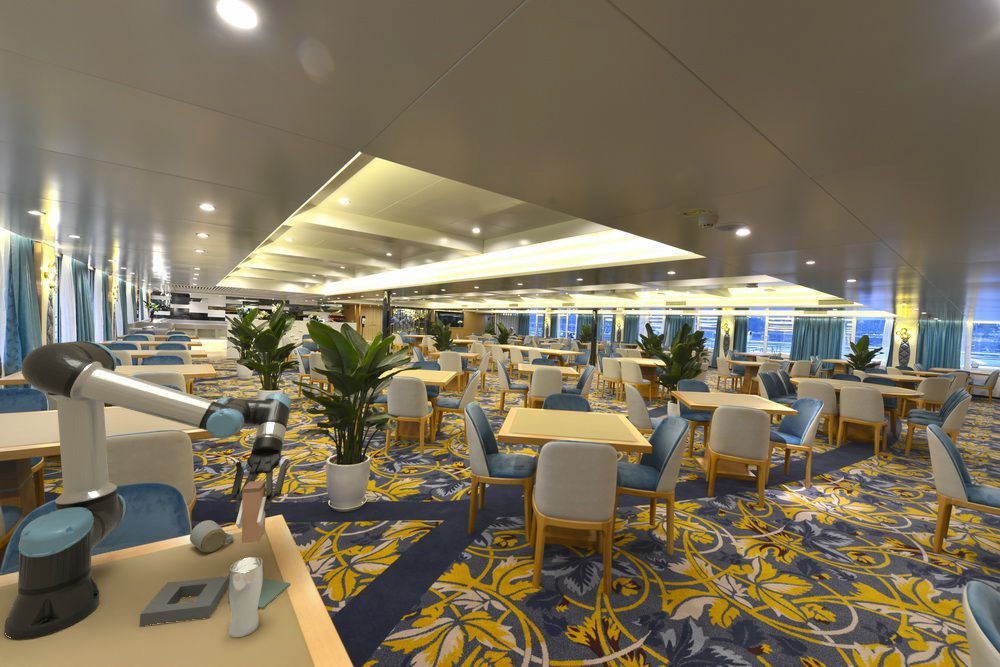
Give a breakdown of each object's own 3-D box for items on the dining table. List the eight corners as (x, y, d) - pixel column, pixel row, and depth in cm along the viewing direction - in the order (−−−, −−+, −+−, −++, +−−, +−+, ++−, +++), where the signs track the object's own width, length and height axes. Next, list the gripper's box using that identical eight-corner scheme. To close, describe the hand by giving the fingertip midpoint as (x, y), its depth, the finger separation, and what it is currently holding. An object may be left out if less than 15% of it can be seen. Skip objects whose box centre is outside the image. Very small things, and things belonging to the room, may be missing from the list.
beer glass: (235, 644, 90) (237, 577, 90) (220, 630, 94) (222, 566, 94) (267, 625, 96) (269, 562, 96) (251, 613, 100) (254, 553, 100)
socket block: (139, 626, 94) (140, 613, 94) (167, 593, 106) (167, 582, 106) (209, 618, 98) (209, 605, 98) (228, 587, 109) (228, 576, 109)
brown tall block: (241, 543, 104) (242, 489, 103) (248, 533, 109) (248, 481, 108) (259, 541, 105) (260, 487, 104) (265, 531, 110) (265, 480, 109)
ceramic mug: (200, 558, 122) (202, 532, 122) (188, 549, 126) (190, 524, 126) (238, 544, 131) (239, 520, 131) (226, 536, 135) (227, 513, 135)
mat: (228, 603, 103) (228, 600, 103) (258, 579, 113) (258, 577, 113) (263, 609, 101) (263, 607, 101) (290, 585, 111) (290, 582, 111)
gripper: (302, 446, 123) (288, 526, 108) (238, 449, 119) (214, 534, 103) (299, 434, 118) (283, 516, 102) (232, 436, 114) (205, 523, 98)
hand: (249, 524), depth 103 cm, fingers closed on brown tall block, 4 cm apart
